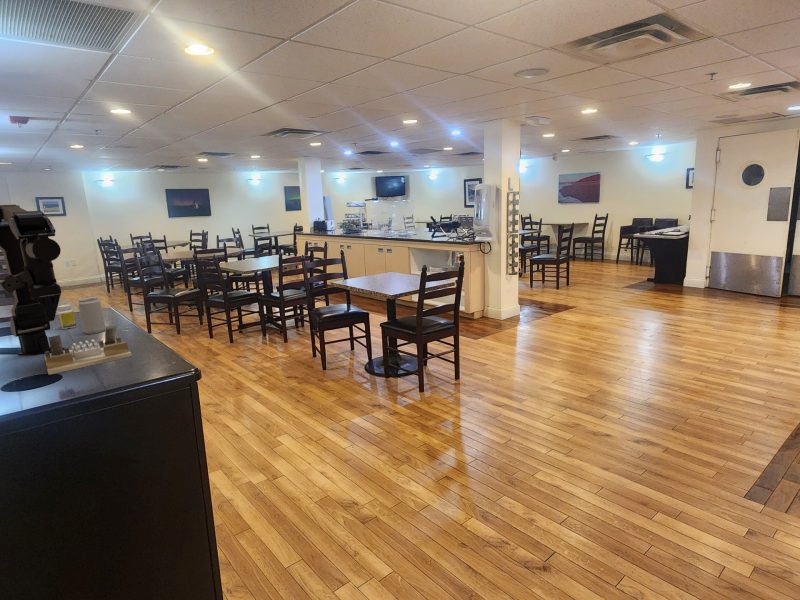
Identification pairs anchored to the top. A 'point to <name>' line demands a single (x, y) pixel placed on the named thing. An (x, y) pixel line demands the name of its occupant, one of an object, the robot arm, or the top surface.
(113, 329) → the strap
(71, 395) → the top surface
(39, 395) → the top surface
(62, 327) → the supplement bottle
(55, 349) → the strap
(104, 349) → the heatsink board
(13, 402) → the top surface
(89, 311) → the beverage can
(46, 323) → the robot arm
